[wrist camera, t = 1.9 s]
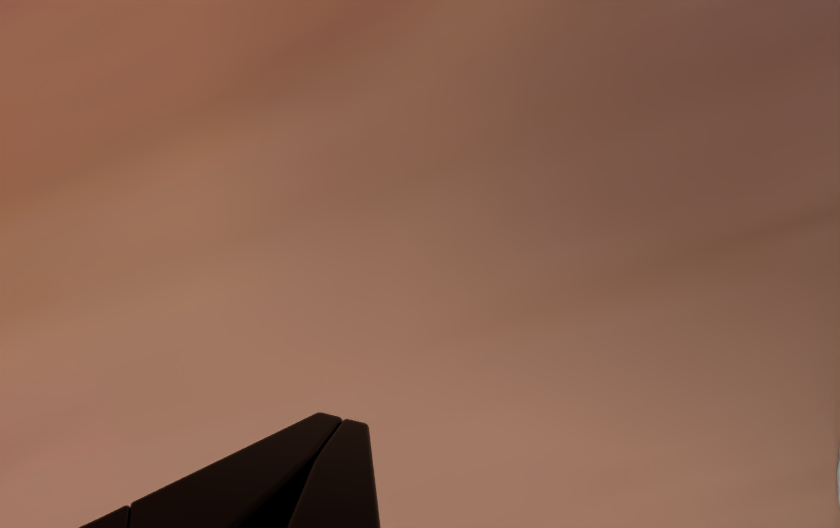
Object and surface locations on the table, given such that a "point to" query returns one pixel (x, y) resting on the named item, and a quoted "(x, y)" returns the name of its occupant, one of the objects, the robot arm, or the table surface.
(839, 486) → the ceramic mug
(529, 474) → the table surface
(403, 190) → the table surface
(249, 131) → the table surface
